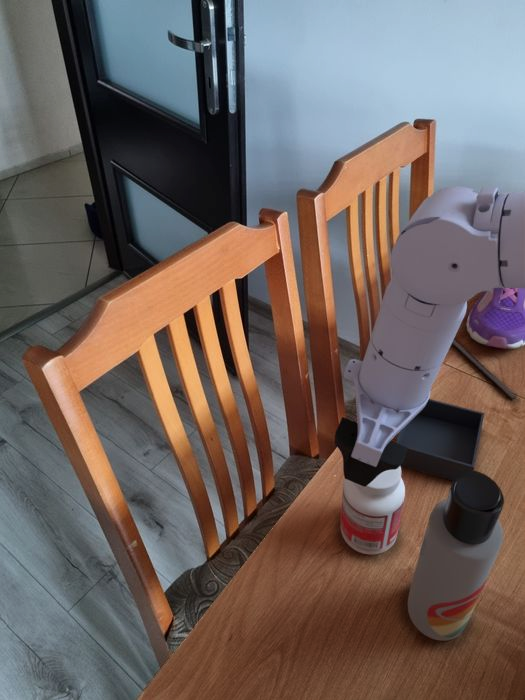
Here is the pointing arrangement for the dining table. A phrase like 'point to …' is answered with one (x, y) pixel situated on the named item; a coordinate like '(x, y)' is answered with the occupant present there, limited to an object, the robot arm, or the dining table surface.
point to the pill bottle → (372, 512)
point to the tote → (442, 439)
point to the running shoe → (499, 318)
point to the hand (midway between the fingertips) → (367, 447)
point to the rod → (484, 370)
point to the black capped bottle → (456, 556)
